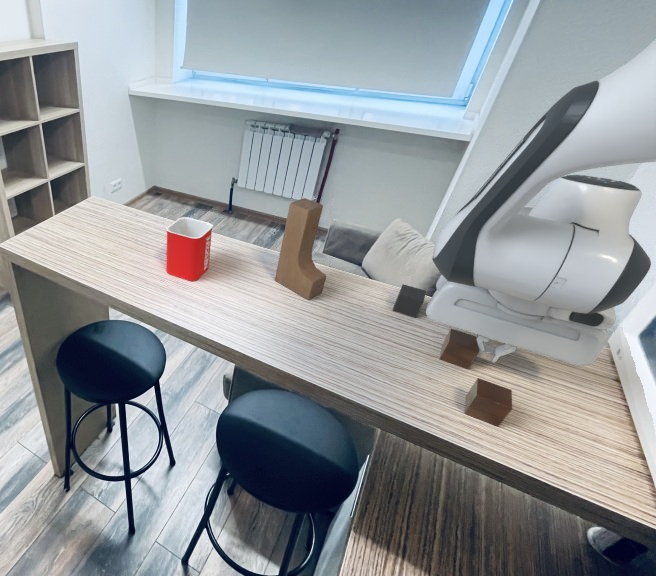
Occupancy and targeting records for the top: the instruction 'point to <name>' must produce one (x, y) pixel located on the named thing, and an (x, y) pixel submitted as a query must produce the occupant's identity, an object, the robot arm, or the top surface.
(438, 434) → the top surface
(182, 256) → the mug
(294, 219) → the wooden block
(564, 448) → the top surface
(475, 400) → the near cube
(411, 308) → the cube
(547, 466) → the top surface
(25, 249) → the top surface
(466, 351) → the middle cube
